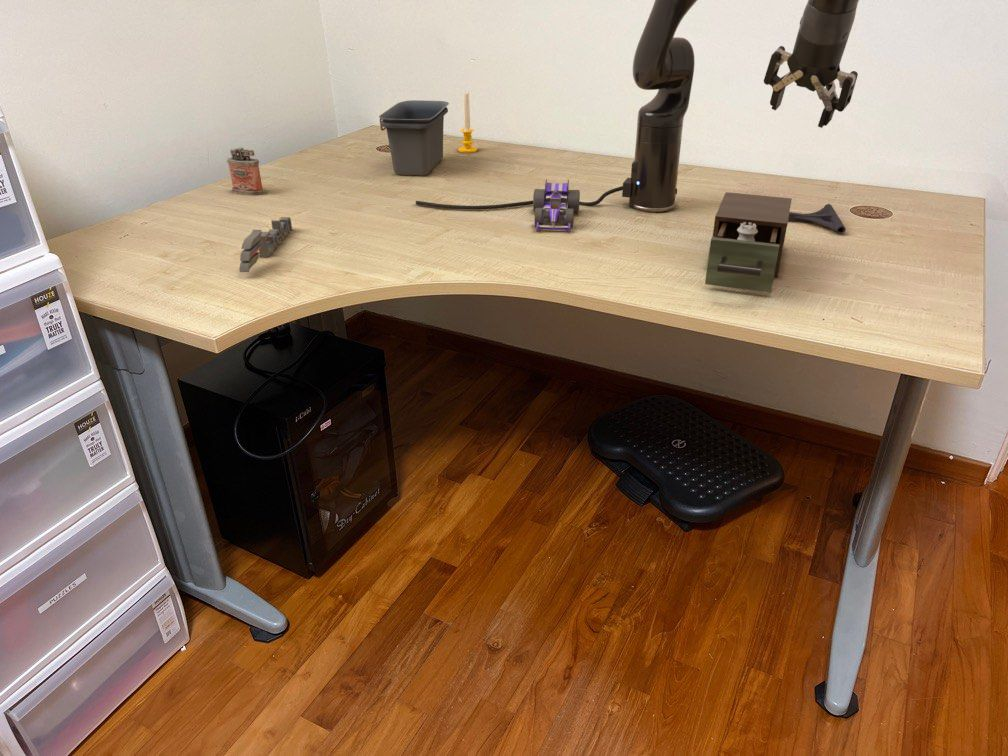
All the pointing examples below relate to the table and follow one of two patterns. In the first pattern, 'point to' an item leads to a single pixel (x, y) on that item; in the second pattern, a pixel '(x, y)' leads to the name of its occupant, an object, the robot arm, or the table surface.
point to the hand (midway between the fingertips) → (798, 115)
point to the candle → (467, 127)
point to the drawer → (743, 259)
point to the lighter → (245, 172)
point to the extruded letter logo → (263, 242)
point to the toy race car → (555, 206)
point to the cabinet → (755, 214)
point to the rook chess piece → (747, 232)
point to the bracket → (820, 218)
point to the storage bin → (415, 135)
